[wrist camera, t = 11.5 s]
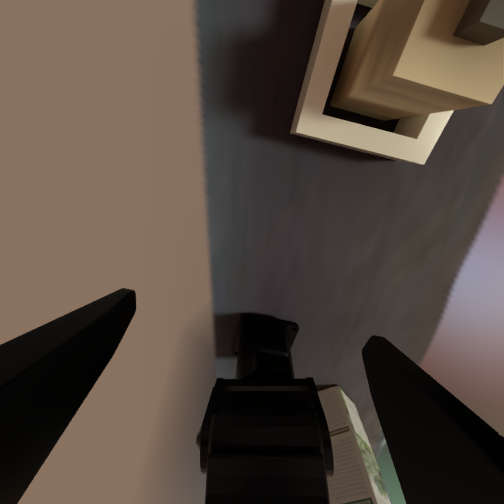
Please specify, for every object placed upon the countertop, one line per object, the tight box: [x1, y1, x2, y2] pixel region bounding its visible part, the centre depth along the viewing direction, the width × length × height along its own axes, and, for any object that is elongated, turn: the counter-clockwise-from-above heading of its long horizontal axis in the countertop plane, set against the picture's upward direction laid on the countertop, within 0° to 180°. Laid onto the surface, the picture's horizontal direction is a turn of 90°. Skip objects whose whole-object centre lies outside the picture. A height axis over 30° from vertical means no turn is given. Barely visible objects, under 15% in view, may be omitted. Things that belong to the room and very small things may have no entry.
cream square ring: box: [290, 0, 454, 165], centre depth 13 cm, size 8×8×3 cm
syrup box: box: [318, 386, 392, 504], centre depth 24 cm, size 6×6×14 cm
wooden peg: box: [330, 0, 504, 121], centre depth 10 cm, size 4×4×9 cm
